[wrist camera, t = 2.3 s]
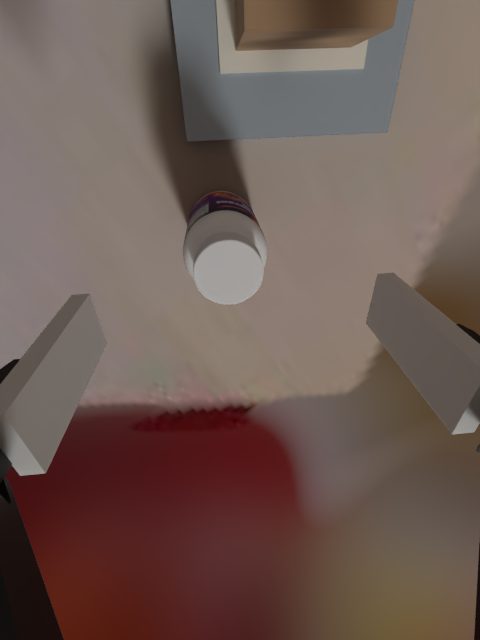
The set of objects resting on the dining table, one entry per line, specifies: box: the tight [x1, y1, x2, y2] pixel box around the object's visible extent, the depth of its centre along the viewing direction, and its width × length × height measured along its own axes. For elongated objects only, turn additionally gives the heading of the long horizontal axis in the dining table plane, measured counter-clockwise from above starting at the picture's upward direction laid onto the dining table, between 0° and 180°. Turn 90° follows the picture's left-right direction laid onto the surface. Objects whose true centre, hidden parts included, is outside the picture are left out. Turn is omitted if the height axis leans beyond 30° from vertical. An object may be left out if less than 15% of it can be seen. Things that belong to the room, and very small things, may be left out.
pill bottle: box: [183, 191, 267, 304], centre depth 21 cm, size 5×5×10 cm
